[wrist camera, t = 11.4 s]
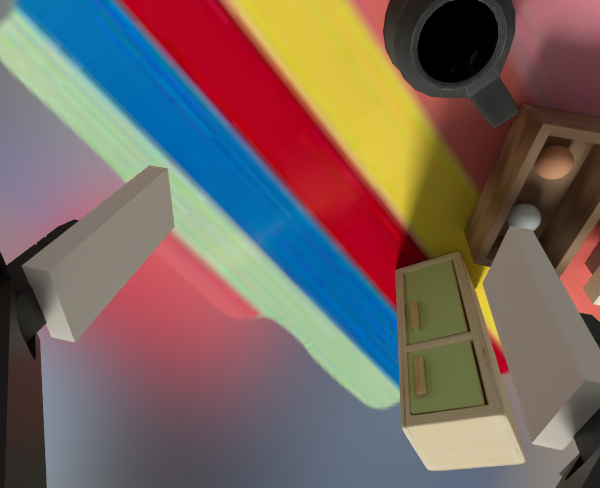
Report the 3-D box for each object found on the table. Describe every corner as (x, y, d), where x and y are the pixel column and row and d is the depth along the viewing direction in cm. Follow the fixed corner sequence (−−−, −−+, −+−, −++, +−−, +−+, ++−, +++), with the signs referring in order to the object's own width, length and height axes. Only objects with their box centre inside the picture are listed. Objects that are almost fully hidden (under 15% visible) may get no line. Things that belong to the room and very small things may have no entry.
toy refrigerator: (459, 243, 44) (505, 410, 27) (477, 290, 47) (528, 466, 30) (392, 263, 47) (395, 423, 30) (413, 306, 50) (426, 473, 33)
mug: (361, 21, 34) (352, 37, 25) (457, -72, 29) (489, -96, 20) (439, 126, 38) (455, 174, 28) (535, 58, 33) (591, 88, 24)
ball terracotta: (539, 138, 36) (550, 149, 33) (573, 144, 35) (586, 156, 33) (524, 168, 37) (533, 181, 35) (556, 174, 37) (568, 187, 35)
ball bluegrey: (510, 195, 39) (519, 209, 37) (541, 201, 39) (551, 216, 36) (498, 220, 41) (505, 235, 38) (527, 226, 41) (536, 242, 38)
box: (521, 103, 35) (543, 123, 30) (613, 119, 34) (650, 142, 30) (464, 231, 43) (474, 263, 38) (538, 246, 42) (557, 280, 38)
